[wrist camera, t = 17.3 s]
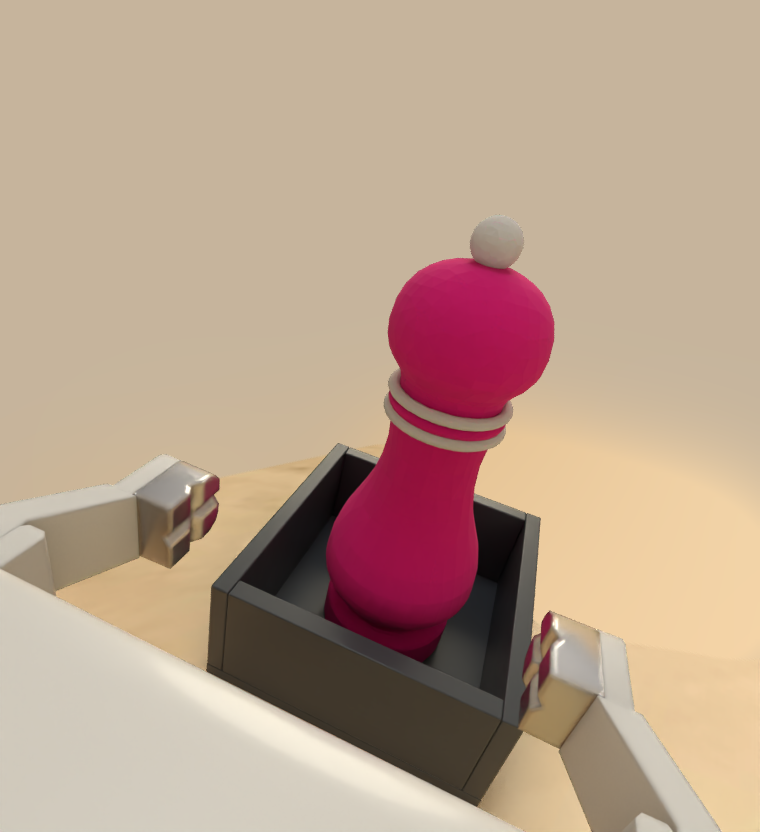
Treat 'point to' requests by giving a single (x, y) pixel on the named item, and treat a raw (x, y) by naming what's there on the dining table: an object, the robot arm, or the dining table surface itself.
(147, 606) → the dining table surface
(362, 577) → the pepper mill
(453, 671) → the bin
